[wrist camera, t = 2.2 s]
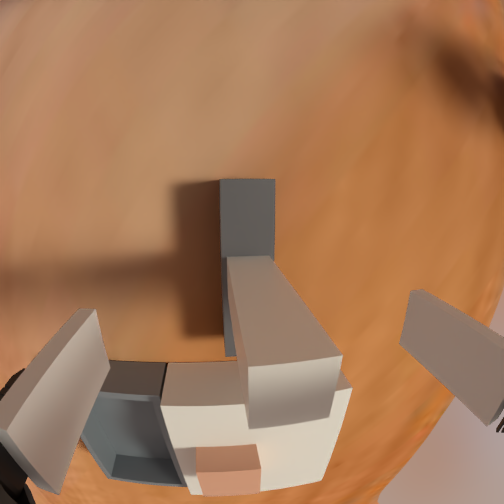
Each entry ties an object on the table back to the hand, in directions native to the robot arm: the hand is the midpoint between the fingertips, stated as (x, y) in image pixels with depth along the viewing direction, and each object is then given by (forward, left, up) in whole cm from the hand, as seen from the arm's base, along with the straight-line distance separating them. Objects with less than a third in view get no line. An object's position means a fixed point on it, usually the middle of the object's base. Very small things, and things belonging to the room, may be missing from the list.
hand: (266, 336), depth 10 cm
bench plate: (+15, +1, -9) cm, 17 cm away
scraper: (0, 0, -9) cm, 9 cm away
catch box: (+15, -11, -9) cm, 20 cm away
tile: (+15, -2, -4) cm, 15 cm away
